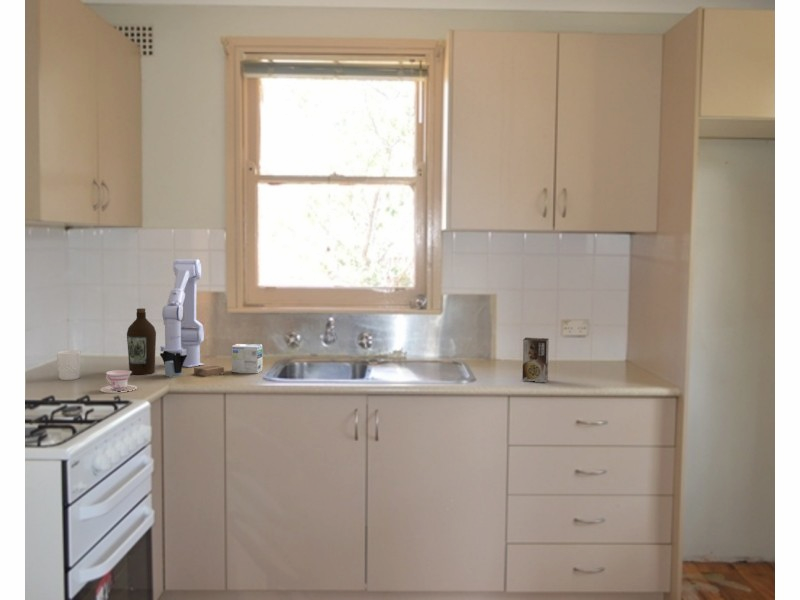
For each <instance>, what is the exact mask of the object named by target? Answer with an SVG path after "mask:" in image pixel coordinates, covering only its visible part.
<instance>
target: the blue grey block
mask: <svg viewBox="0 0 800 600" xmlns="http://www.w3.org/2000/svg"><path fill="white" fill-rule="evenodd" d="M165 375H166V377H168V376H171V377H170V378H174V377H173V376H177V377H181V376H180V375H182V376H183V369H182V370H181V373H175V370H174V362H173V361H166V362H165V364H164V376H165Z"/></svg>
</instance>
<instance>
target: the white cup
mask: <svg viewBox="0 0 800 600" xmlns="http://www.w3.org/2000/svg"><path fill="white" fill-rule="evenodd" d="M56 355H57V356H56V359H57V370H58V376H59V377H58V378H59V380H61V381H69V380H70V381H72V380H77V379H79V378H80V370H81V350H78V349H71V350H70V349H69V350H67V349H66V350H60V351H59V350H58V351H57V352H56Z"/></svg>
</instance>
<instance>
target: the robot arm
mask: <svg viewBox="0 0 800 600" xmlns="http://www.w3.org/2000/svg"><path fill="white" fill-rule="evenodd" d="M172 268H173V269H172V270H173V272H174V275H175V282H174V288H173V289H171V290H170V292H169V296H168V299H167V303H166V305H165V306H163V308H162V311H161V314H162V315H161V316H162V319H163V326H164V339H165V340H164V341H165V342H164V343H165V345H161V346H159V347H160V353H159V355H160V357H161V359H162V361H163V364H164V365H165V362H166V361H173V362H174V370H175V373H181V370H182V371H183V367H186V368H191V367H192V368H194V367H200V366H205V363H202V362H201V352H200V351H201V344H202V343H203V342H204V339H205V331H204V325H203V324H202V322H200V321H199V320H197V293H198V292H197V290H198V289H197V287H198V286H197V285H198V281H199V280H201V279H202V264H201V261H200V259H198V258H196V259H186V258H185V259H181V258H180V259H178V258H175V260H174V261H173V266H172ZM183 316H184V319H183ZM182 320H183V321H182ZM181 321H182V322H181ZM199 365H200V366H199Z"/></svg>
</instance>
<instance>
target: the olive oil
mask: <svg viewBox="0 0 800 600" xmlns="http://www.w3.org/2000/svg"><path fill="white" fill-rule="evenodd" d="M146 313H147V312H146V308H143V307H141V308H140V307H139V308H137V309H136V318H135V320H134V321H133V322H132V323H131V324H130V325H129V326H128V328H127V332H126V343H127V354H128V357H127V358H128V371H132V373H131V374H130V375H136V376H137V375H138V376H140V375H150V374H151V375H152V374H153V373H155V372H156V347H157V346H156V341H157V340H156V339H157V331H156V329H155V326H154V325H153V324H152V323H151V322H150V321H149V320H148V319H147V318H146V317H147V314H146Z"/></svg>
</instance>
